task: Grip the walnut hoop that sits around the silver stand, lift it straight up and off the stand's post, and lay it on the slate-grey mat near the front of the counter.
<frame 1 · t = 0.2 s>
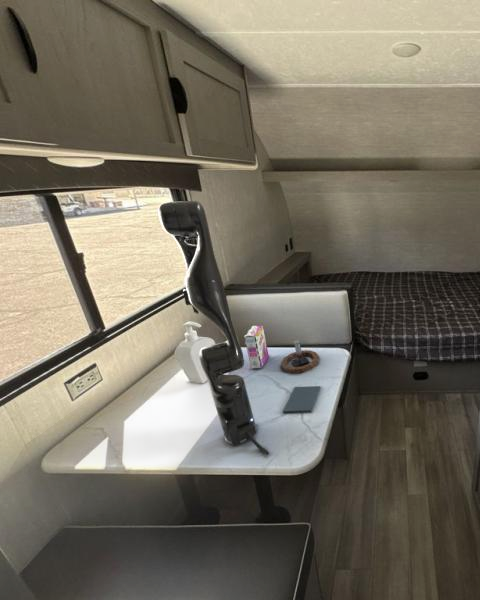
hand: (209, 310, 127), 29 cm above the table, tool pointing down, fingers open, 8 cm apart
candy bar box: (260, 362, 143), on the table
soap bottle: (205, 377, 134), on the table
stand: (300, 363, 141), on the table
mat: (302, 399, 117), on the table
ring: (300, 363, 141), on the table
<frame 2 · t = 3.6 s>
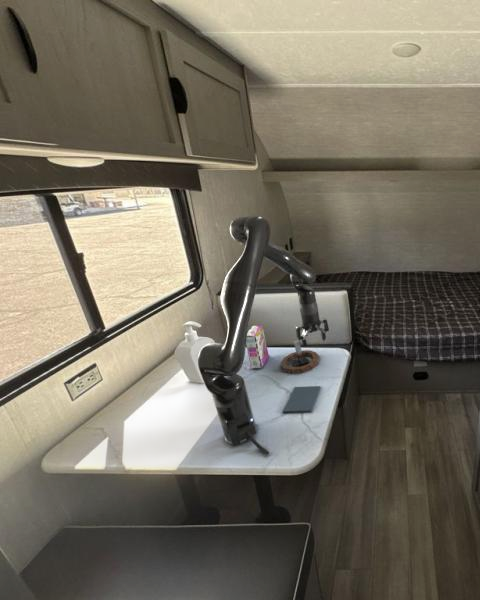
hand: (314, 342, 143), 8 cm above the table, tool pointing down, fingers open, 8 cm apart
nothing on the table moved.
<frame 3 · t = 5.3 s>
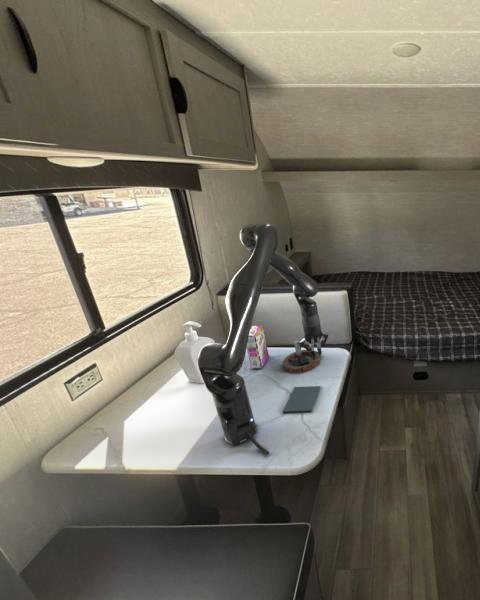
hand: (316, 355, 145), 1 cm above the table, tool pointing down, fingers closed on ring, 2 cm apart
ring: (302, 362, 142), on the table, touching gripper
everything else where it was.
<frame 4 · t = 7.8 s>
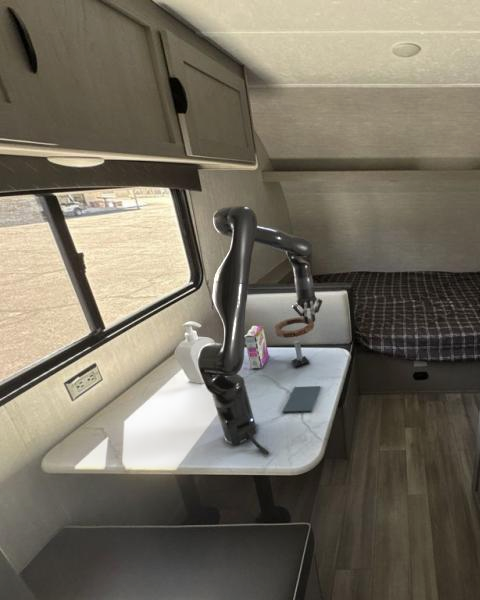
hand: (310, 322, 138), 18 cm above the table, tool pointing down, fingers closed on ring
ring: (294, 329, 135), point 17 cm above the table, touching gripper
everything else where it was.
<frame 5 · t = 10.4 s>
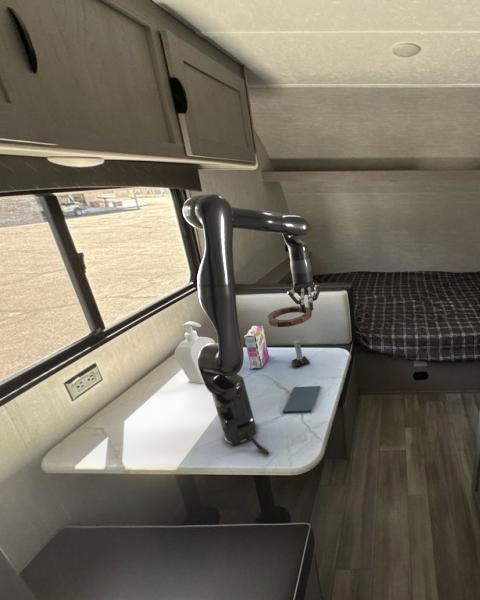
hand: (307, 311, 124), 28 cm above the table, tool pointing down, fingers closed on ring
ring: (290, 318, 121), point 28 cm above the table, touching gripper
everything else where it was.
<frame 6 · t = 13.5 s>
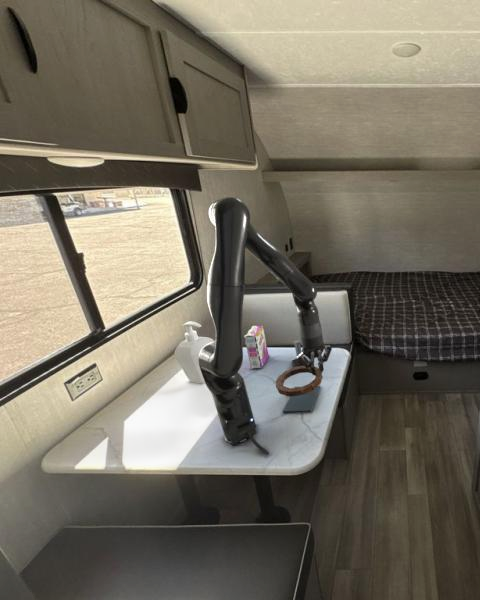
hand: (317, 373, 118), 9 cm above the table, tool pointing down, fingers closed on ring
ring: (299, 382, 115), point 8 cm above the table, touching gripper
everything else where it was.
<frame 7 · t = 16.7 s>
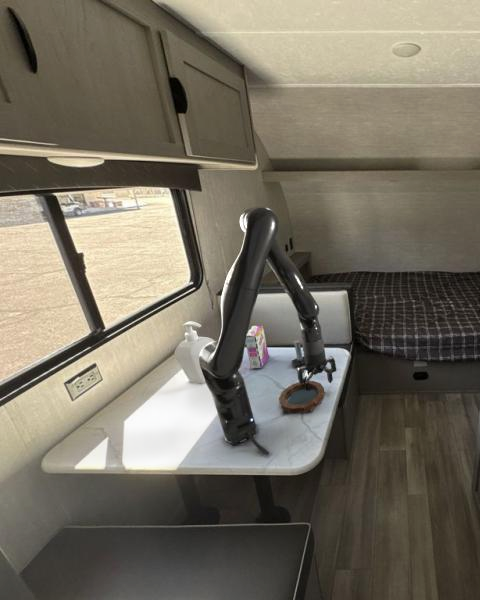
hand: (319, 385, 120), 3 cm above the table, tool pointing down, fingers open, 8 cm apart
ring: (302, 397, 117), point 1 cm above the table, touching mat
everything else where it was.
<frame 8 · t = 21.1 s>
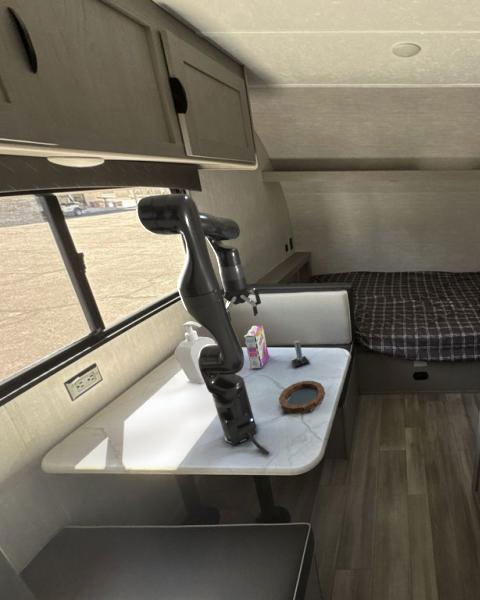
hand: (243, 318, 116), 30 cm above the table, tool pointing down, fingers open, 8 cm apart
nothing on the table moved.
at the end: ring inside the target area on the mat (0.1 cm from its centre), point 0.8 cm above the mat's base; ring tilted 0°; ring touching mat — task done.
